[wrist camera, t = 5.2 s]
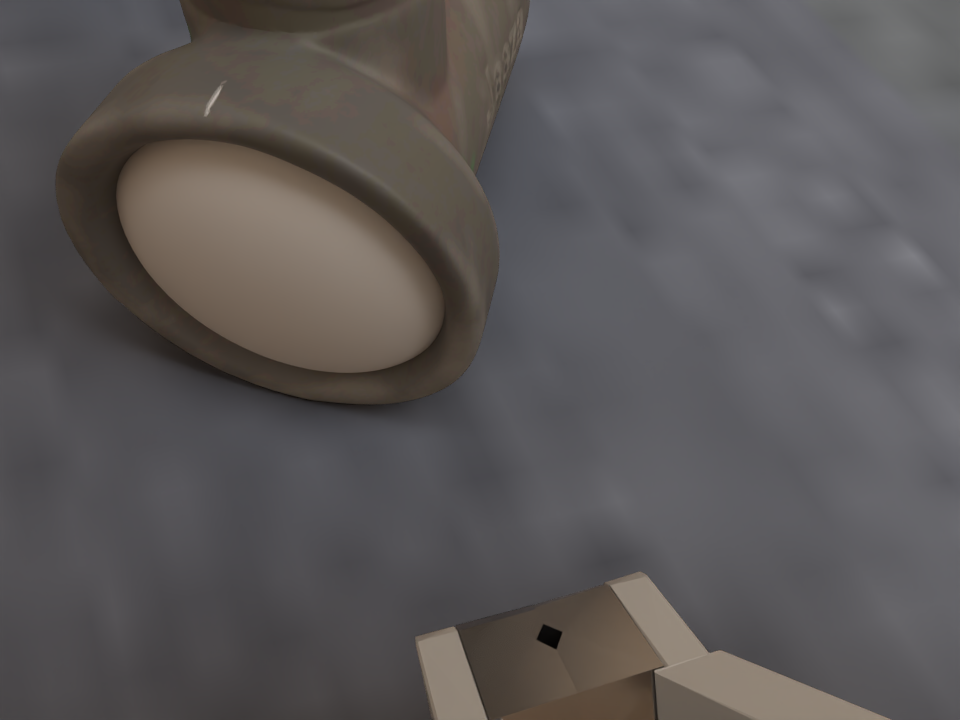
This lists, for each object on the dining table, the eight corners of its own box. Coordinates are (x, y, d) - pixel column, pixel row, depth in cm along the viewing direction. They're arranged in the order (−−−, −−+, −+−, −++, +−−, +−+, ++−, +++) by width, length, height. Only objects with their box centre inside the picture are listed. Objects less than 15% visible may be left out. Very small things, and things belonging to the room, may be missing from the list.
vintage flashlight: (470, 459, 17) (474, 38, 8) (139, 381, 18) (-166, -67, 9) (568, 118, 23) (627, -314, 15) (322, 75, 24) (244, -353, 16)
